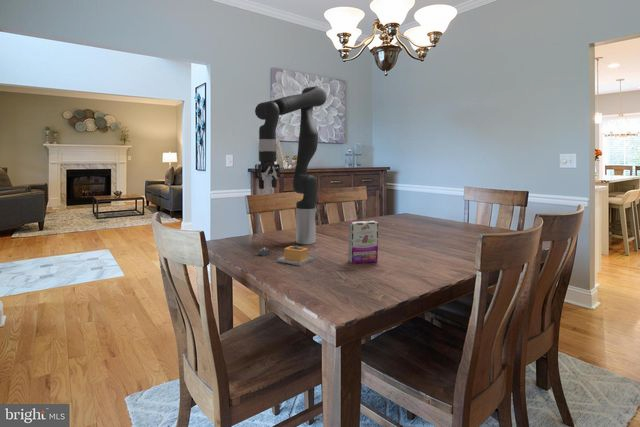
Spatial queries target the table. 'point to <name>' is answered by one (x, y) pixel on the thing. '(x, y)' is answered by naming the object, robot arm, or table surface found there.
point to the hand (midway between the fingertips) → (267, 188)
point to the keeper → (295, 262)
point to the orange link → (296, 253)
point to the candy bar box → (363, 242)
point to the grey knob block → (264, 252)
